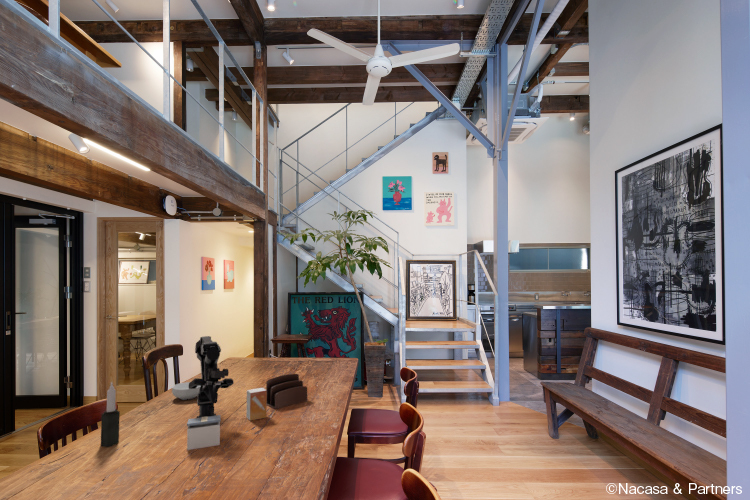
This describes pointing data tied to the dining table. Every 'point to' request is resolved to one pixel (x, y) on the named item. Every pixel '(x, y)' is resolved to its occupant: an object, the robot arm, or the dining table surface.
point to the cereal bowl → (185, 391)
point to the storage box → (203, 435)
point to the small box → (256, 403)
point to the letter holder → (285, 391)
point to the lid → (204, 420)
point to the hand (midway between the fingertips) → (212, 402)
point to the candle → (110, 421)
